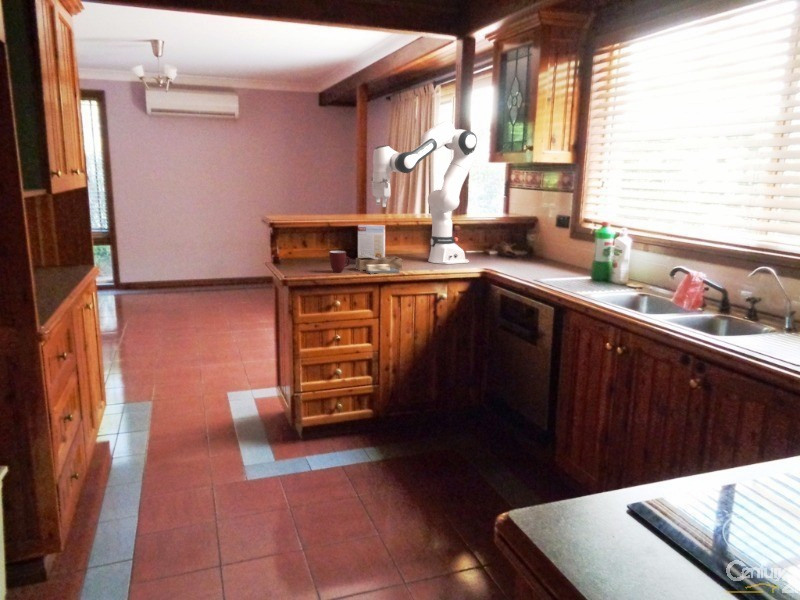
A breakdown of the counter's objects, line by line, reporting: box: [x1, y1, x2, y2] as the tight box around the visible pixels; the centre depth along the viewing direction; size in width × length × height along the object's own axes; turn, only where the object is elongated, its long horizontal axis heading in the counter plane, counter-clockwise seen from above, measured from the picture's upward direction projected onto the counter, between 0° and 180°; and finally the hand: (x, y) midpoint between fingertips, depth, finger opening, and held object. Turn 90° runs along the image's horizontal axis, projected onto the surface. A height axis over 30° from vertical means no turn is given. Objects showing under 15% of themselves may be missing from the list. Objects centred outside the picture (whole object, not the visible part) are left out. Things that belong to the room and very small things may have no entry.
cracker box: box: [357, 224, 386, 258], centre depth 326 cm, size 14×6×21 cm, turn 84°
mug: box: [328, 250, 351, 274], centre depth 300 cm, size 10×8×10 cm
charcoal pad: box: [365, 268, 400, 275], centre depth 303 cm, size 15×8×1 cm, turn 109°
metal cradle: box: [361, 252, 385, 259], centre depth 311 cm, size 19×6×2 cm, turn 109°
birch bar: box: [366, 264, 390, 271], centre depth 301 cm, size 11×4×2 cm, turn 109°
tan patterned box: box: [355, 256, 403, 272], centre depth 311 cm, size 22×8×6 cm, turn 109°
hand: (381, 206), depth 313 cm, fingers open, 8 cm apart
